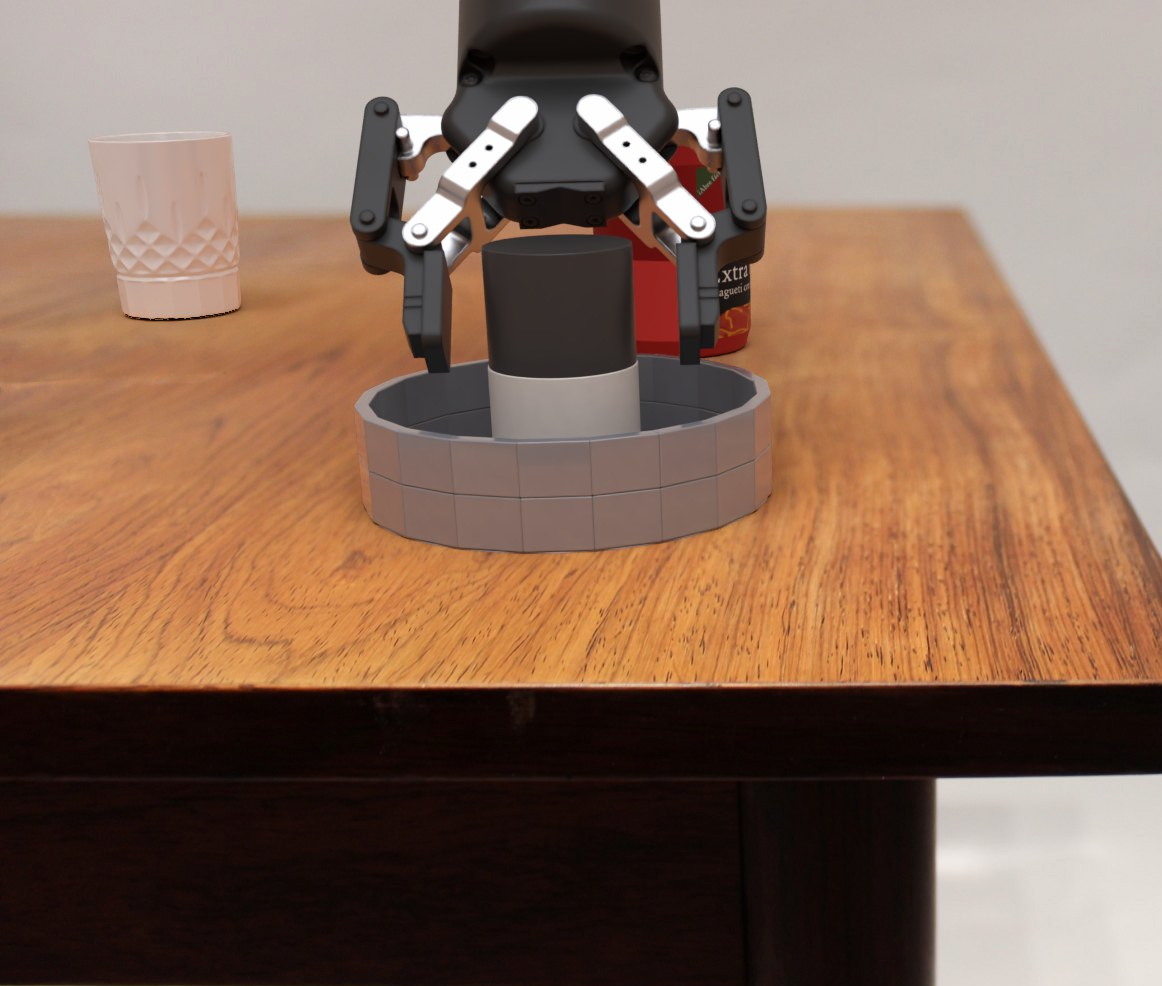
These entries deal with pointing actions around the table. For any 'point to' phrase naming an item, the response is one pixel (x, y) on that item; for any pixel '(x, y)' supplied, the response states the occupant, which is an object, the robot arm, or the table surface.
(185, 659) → the table surface
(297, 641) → the table surface
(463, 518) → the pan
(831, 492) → the table surface
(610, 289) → the container
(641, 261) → the canned food
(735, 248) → the robot arm
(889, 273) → the table surface
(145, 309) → the white cup
